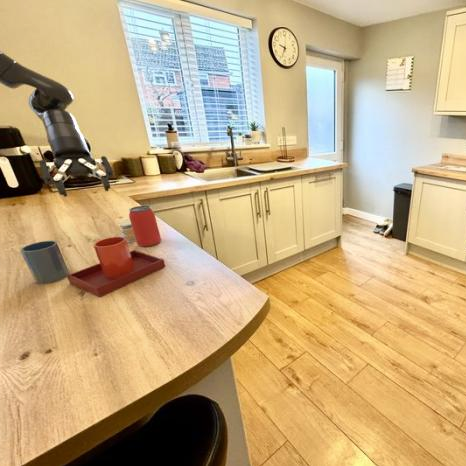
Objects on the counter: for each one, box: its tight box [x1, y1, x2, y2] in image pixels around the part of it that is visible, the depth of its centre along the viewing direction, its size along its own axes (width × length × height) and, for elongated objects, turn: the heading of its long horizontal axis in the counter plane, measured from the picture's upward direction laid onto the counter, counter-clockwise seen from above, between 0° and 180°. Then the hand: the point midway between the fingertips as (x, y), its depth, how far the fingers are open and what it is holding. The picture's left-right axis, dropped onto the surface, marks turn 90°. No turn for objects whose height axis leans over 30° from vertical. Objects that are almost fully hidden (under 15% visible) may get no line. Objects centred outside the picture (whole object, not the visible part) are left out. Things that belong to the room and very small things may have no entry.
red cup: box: [93, 236, 135, 279], centre depth 74 cm, size 6×6×9 cm
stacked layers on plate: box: [116, 218, 137, 244], centre depth 98 cm, size 10×9×6 cm
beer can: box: [128, 205, 162, 247], centre depth 92 cm, size 7×7×12 cm
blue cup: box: [20, 240, 71, 285], centre depth 73 cm, size 6×6×9 cm
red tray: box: [66, 249, 166, 298], centre depth 76 cm, size 16×13×2 cm
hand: (86, 192), depth 77 cm, fingers open, 8 cm apart
